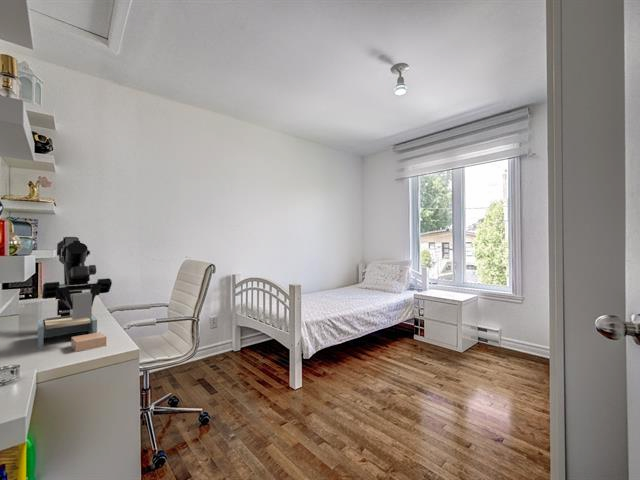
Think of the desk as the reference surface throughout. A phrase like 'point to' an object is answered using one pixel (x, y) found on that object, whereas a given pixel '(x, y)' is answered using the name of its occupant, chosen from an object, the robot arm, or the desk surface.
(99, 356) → the desk surface
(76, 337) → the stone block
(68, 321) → the trapdoor
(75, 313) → the grey upright block
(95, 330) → the trapdoor frame
